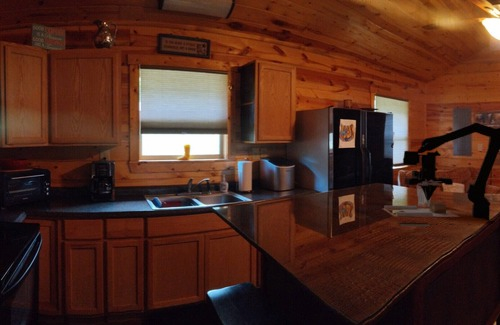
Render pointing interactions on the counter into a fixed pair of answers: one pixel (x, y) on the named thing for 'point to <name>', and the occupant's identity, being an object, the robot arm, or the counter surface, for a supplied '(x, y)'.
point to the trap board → (416, 212)
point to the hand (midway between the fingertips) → (427, 200)
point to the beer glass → (422, 197)
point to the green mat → (413, 224)
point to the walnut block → (437, 207)
